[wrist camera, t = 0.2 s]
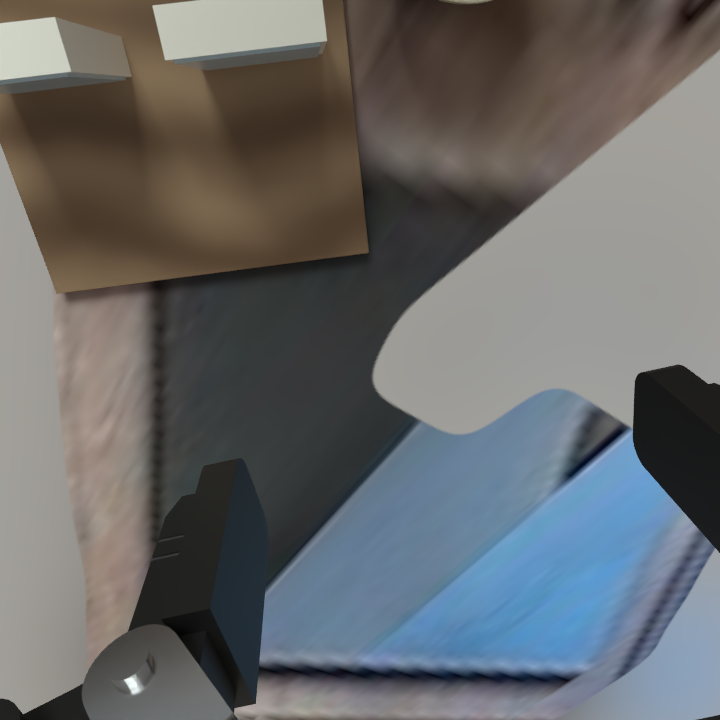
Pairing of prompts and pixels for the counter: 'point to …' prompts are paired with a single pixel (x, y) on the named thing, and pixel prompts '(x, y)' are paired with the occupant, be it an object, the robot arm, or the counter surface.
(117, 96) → the board
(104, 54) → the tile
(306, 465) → the counter surface
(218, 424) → the counter surface
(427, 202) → the counter surface
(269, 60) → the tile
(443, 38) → the counter surface
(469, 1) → the flower pot
